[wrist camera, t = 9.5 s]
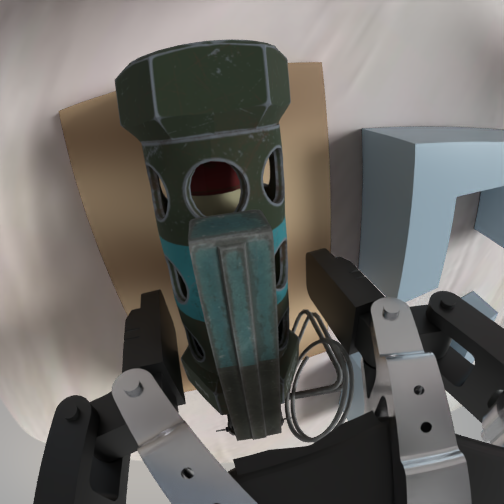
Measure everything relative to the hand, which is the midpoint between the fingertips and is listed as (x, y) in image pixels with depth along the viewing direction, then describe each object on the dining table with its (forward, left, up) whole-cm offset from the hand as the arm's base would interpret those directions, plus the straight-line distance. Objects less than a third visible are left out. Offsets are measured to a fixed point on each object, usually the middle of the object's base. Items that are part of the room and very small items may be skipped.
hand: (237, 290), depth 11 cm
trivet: (0, 0, -2) cm, 2 cm away
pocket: (+6, +14, -2) cm, 15 cm away
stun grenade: (-1, 0, -1) cm, 2 cm away
